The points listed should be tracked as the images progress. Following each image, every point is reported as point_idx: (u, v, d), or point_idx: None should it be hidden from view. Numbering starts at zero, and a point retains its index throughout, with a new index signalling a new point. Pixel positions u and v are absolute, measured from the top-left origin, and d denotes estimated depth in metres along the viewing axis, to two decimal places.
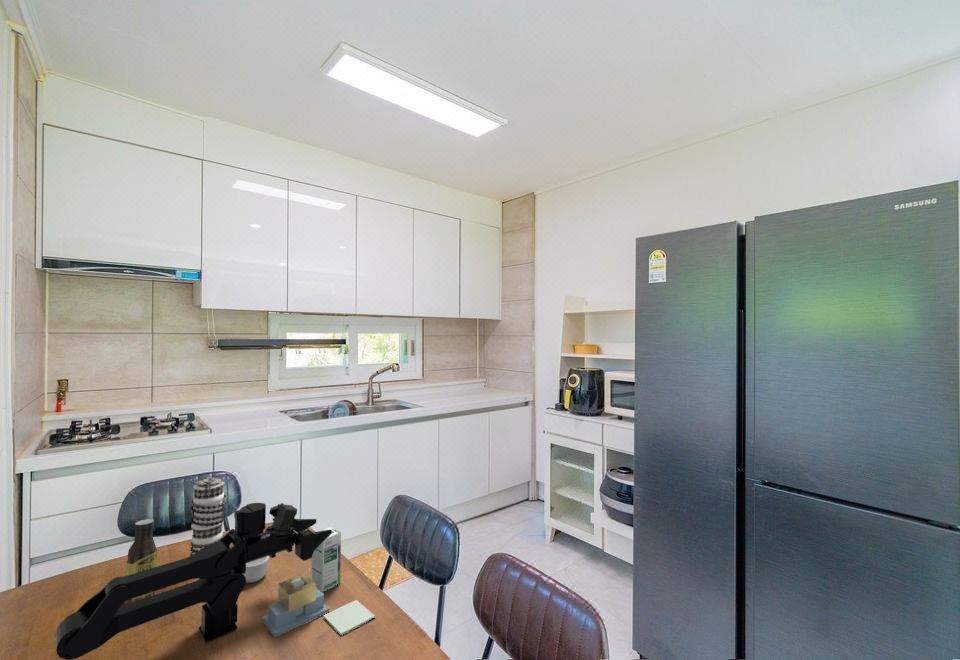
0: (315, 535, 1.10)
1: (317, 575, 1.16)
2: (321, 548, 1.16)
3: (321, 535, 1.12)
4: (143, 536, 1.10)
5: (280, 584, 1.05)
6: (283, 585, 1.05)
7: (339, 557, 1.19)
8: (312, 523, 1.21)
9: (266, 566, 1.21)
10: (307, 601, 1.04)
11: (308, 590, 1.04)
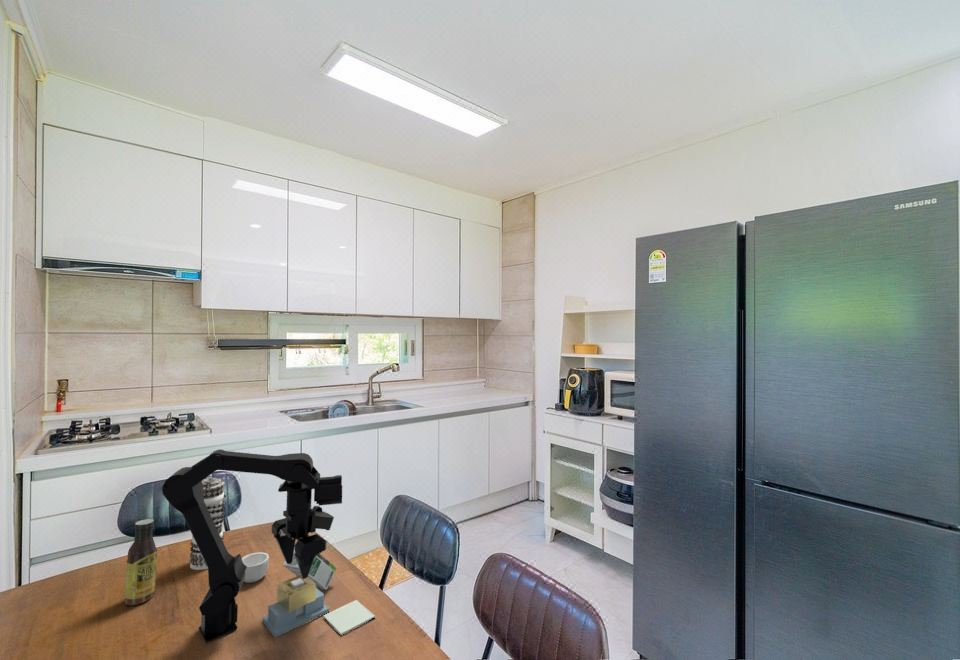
0: (313, 556, 1.02)
1: None
2: None
3: (309, 565, 1.02)
4: (143, 536, 1.10)
5: (279, 584, 1.05)
6: (282, 585, 1.04)
7: (323, 557, 1.15)
8: (288, 559, 1.08)
9: (266, 566, 1.21)
10: (307, 601, 1.04)
11: (308, 589, 1.04)
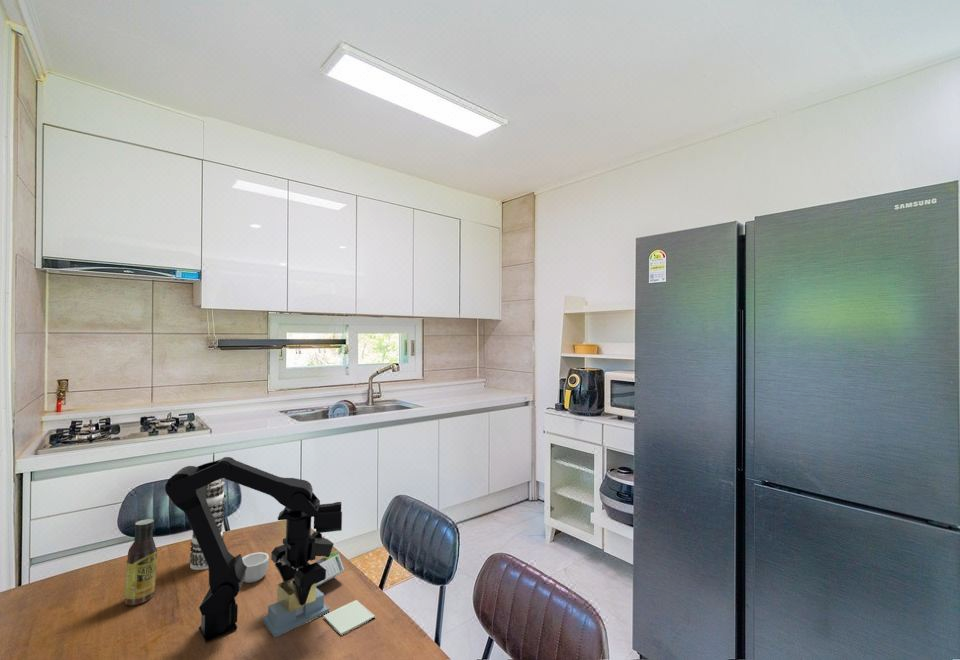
0: None
1: (329, 579, 1.18)
2: None
3: (306, 592, 1.02)
4: (143, 536, 1.10)
5: (279, 584, 1.05)
6: (282, 585, 1.04)
7: (315, 562, 1.16)
8: None
9: (266, 566, 1.21)
10: (307, 601, 1.04)
11: None
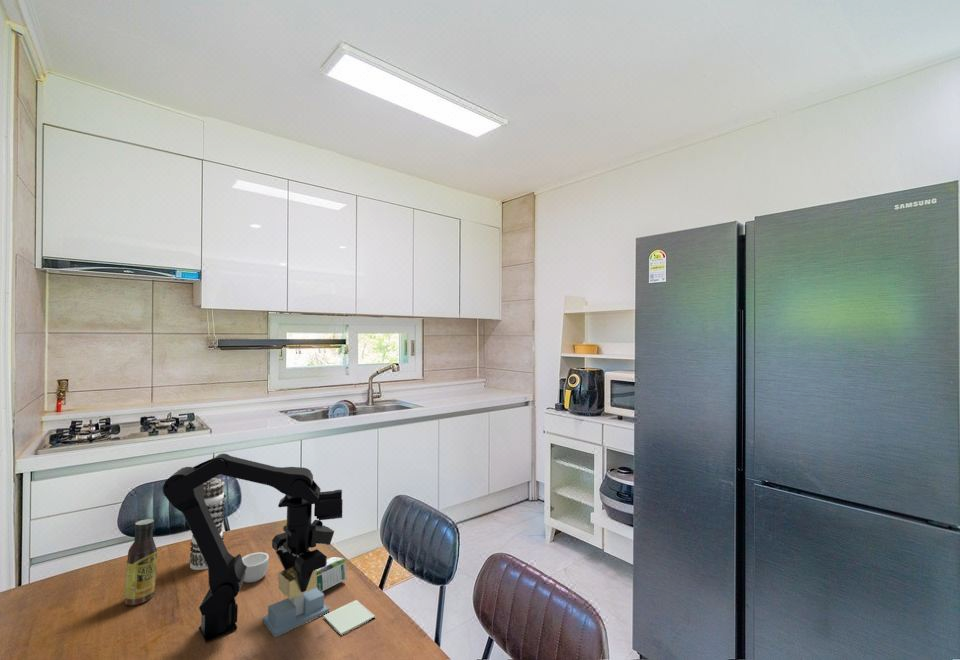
0: None
1: None
2: None
3: (307, 578, 1.02)
4: (143, 536, 1.10)
5: (280, 572, 1.05)
6: (283, 573, 1.05)
7: (322, 570, 1.14)
8: None
9: (266, 565, 1.21)
10: (308, 588, 1.04)
11: None
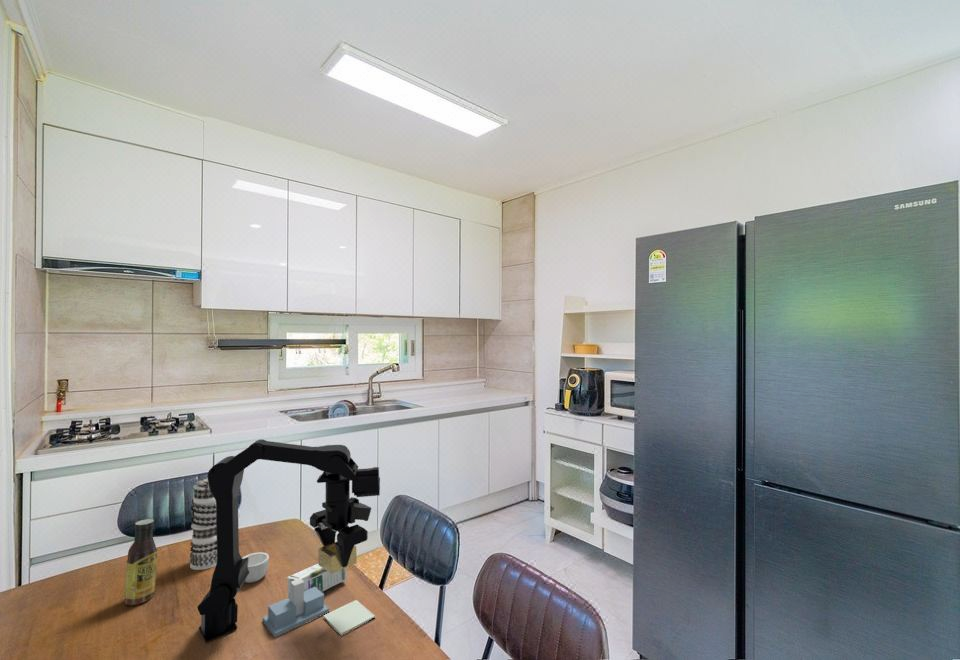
0: (352, 545, 1.03)
1: None
2: None
3: (348, 553, 1.02)
4: (143, 536, 1.10)
5: (320, 549, 1.05)
6: (323, 549, 1.05)
7: (322, 570, 1.14)
8: None
9: (266, 566, 1.21)
10: (348, 563, 1.04)
11: None
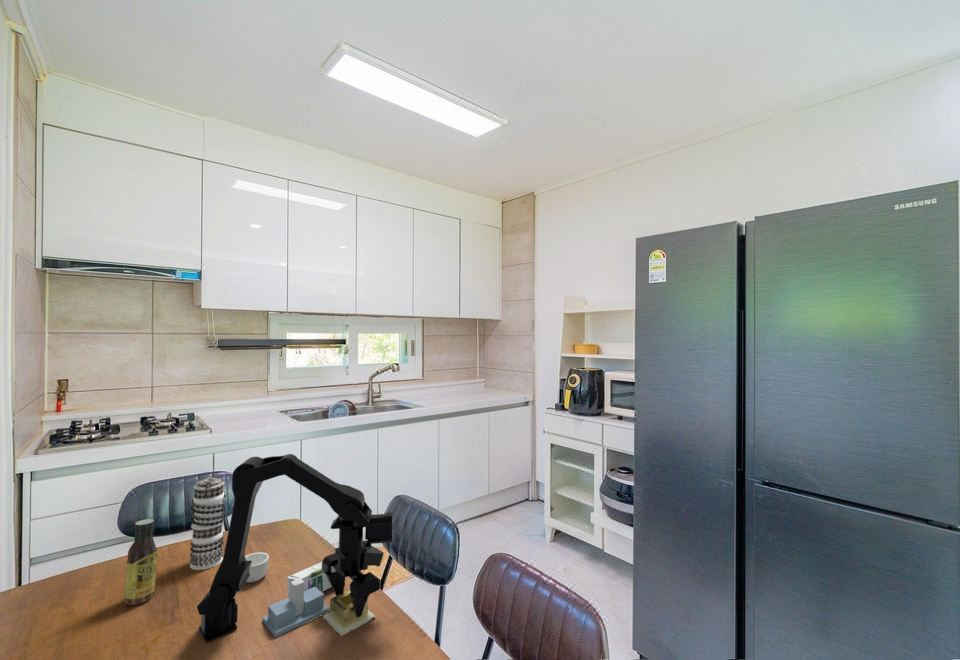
0: (367, 595, 1.01)
1: None
2: None
3: (363, 603, 1.01)
4: (143, 536, 1.10)
5: (332, 599, 1.05)
6: (335, 600, 1.04)
7: (322, 570, 1.14)
8: None
9: (266, 566, 1.21)
10: (360, 616, 1.03)
11: None
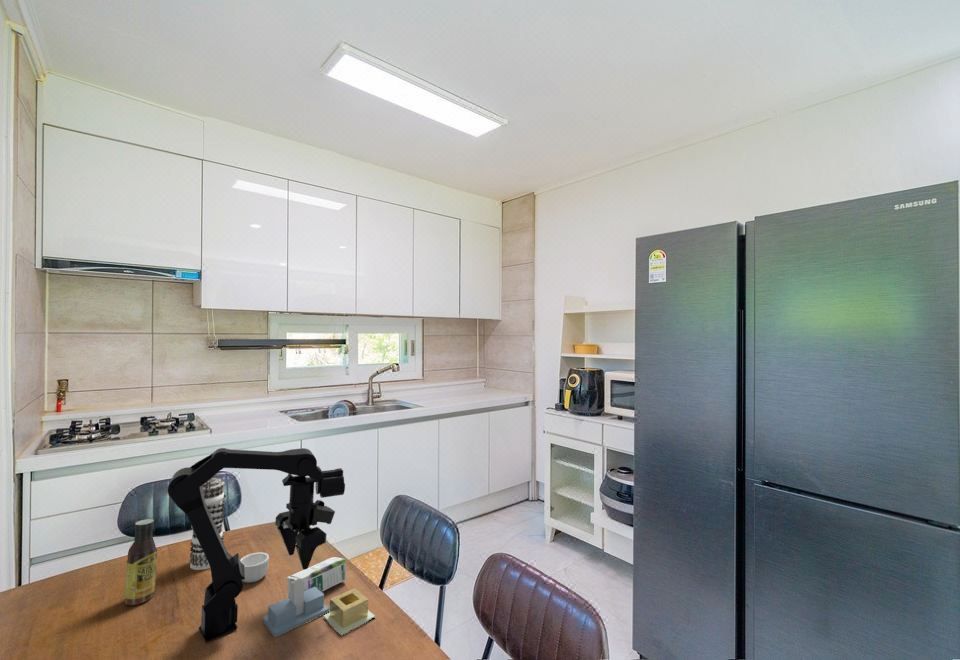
0: (314, 548, 1.05)
1: None
2: None
3: (309, 556, 1.05)
4: (143, 536, 1.10)
5: (332, 599, 1.05)
6: (335, 600, 1.04)
7: (322, 570, 1.14)
8: (290, 551, 1.12)
9: (266, 565, 1.21)
10: (360, 616, 1.03)
11: (361, 605, 1.04)
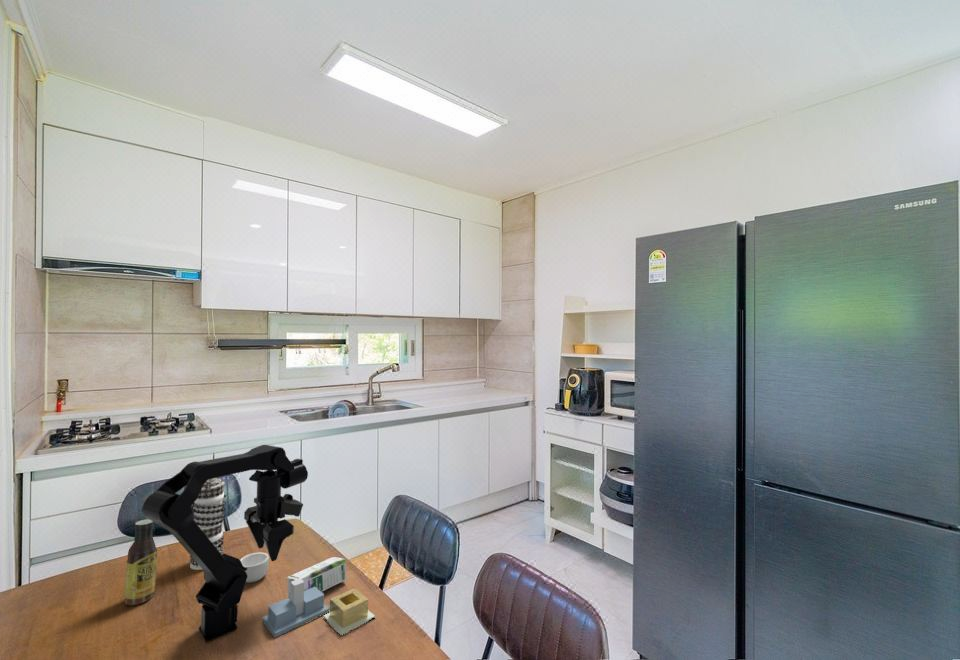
0: (281, 540, 1.08)
1: None
2: None
3: (277, 548, 1.08)
4: (143, 536, 1.10)
5: (332, 599, 1.05)
6: (335, 600, 1.04)
7: (322, 570, 1.14)
8: (260, 544, 1.14)
9: (266, 566, 1.21)
10: (360, 616, 1.03)
11: (361, 605, 1.04)
